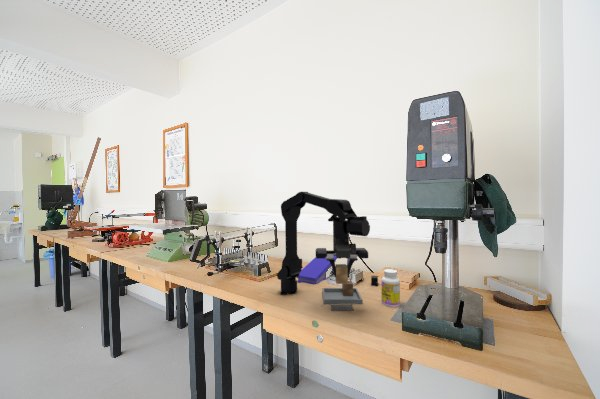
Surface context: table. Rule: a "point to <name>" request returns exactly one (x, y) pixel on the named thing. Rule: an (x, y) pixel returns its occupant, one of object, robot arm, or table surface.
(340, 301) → the parts tray
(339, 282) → the labelled block
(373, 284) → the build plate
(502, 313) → the table surface
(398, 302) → the supplement bottle
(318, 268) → the purple flat box
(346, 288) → the walnut block
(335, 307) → the rubber mat
